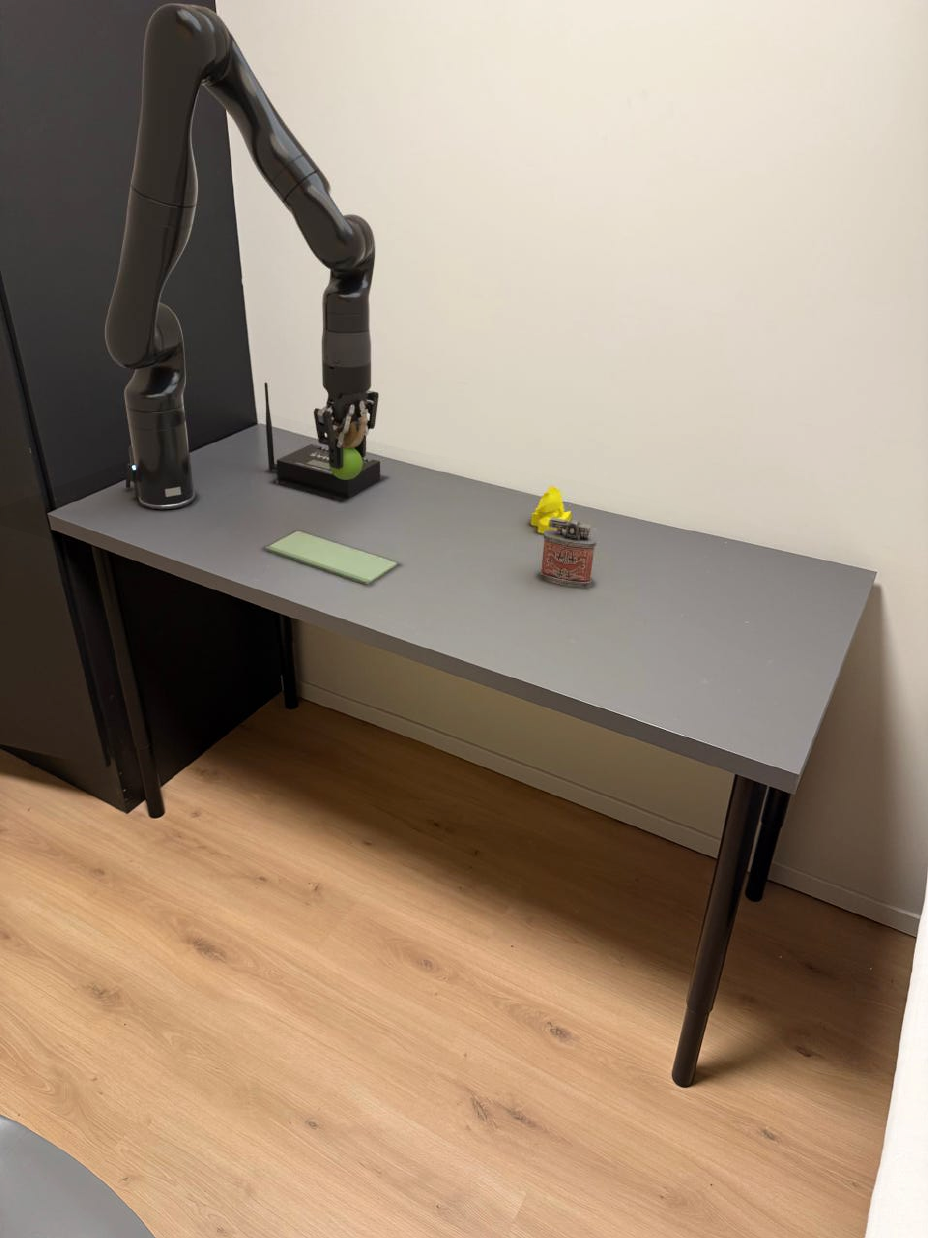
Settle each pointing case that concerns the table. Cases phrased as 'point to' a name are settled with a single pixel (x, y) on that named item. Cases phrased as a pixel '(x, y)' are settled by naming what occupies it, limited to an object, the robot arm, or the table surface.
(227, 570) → the table surface
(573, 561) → the lighter
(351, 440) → the snail figurine
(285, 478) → the wireless controller
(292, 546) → the front mat
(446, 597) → the table surface
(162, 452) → the robot arm
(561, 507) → the crumpled paper
